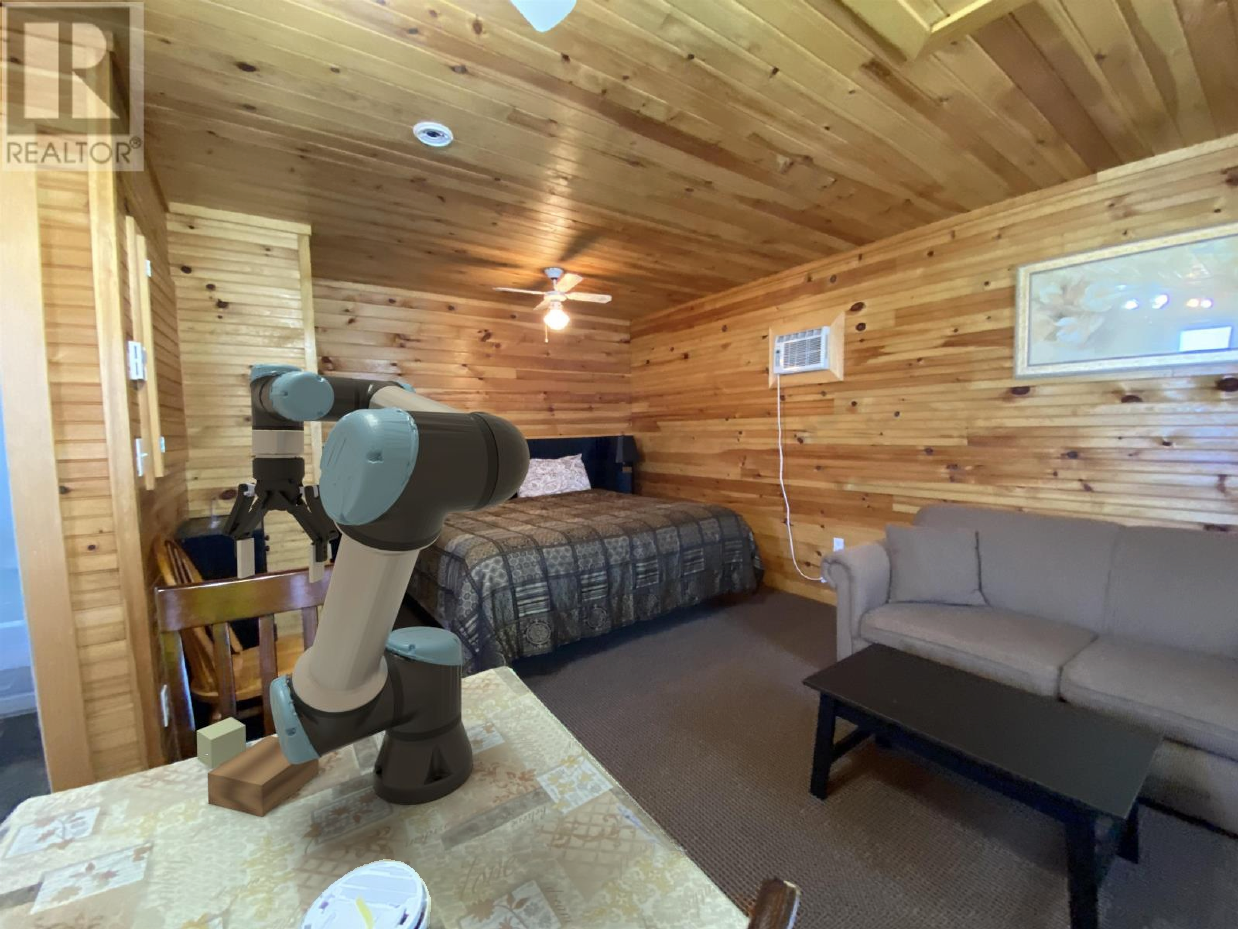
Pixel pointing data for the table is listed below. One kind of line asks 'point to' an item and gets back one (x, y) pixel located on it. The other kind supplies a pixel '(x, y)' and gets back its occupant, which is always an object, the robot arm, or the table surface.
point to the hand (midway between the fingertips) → (281, 578)
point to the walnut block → (258, 779)
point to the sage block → (220, 742)
